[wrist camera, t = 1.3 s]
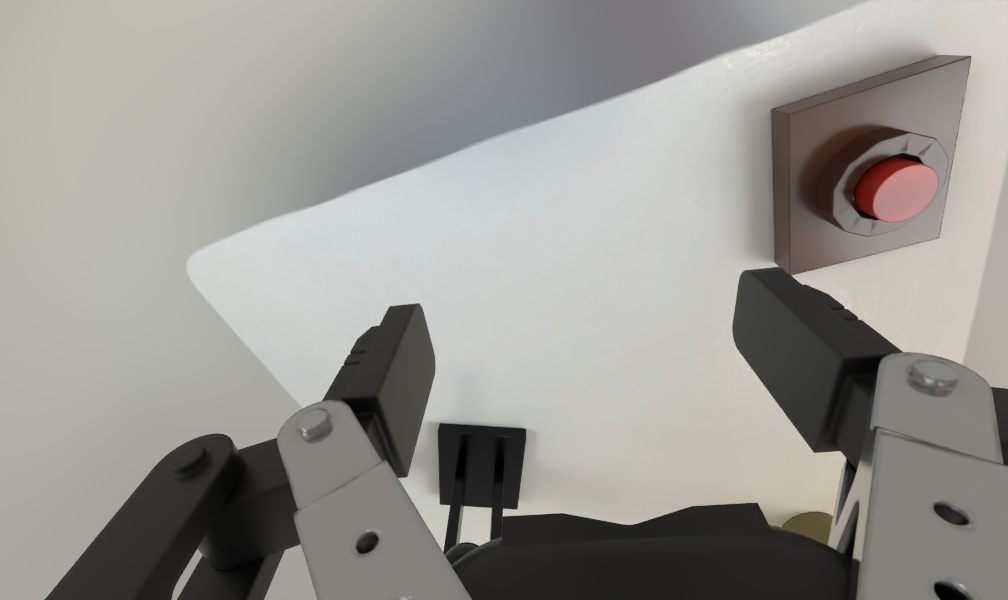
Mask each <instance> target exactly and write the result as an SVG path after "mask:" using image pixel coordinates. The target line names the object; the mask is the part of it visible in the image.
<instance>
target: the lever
mask: <svg viewBox="0 0 1008 600" xmlns="http://www.w3.org/2000/svg"><path fill="white" fill-rule="evenodd" d="M477 547H479V546H478V545H476V544H473V543H467V542H466V543H460V544H457V545H455V546H454V547H452V548H451V549H450V550H449V551H448V552H447V553H446V554H445V556H446V558H447V560H448V561H449V563H450V565H451V566H452V565H453V564H454V563H455V562H457V561H458V560H459V559H460V558H462V557H463V556H464V555H466V554H467V553H469V552H470V551H472V550H474V549H475V548H477Z"/></svg>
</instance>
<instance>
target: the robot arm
mask: <svg viewBox="0 0 1008 600" xmlns="http://www.w3.org/2000/svg"><path fill="white" fill-rule="evenodd" d="M733 337H734V341H735V344H736V347H737V349H738V350H739V352H740V353H741V354H742V356H743V357H744V358H745V360H746V361H747V363H748V364H749V365H750V367H751V368H752V369H753V371H754V372H755V373H756V375H757V376H758V377H759V379H760V380H761V381H762V383H763V384H764V386H765V387H766V388H767V390H768V391H769V392H770V394H771V395H772V396H773V398H774V399H775V400H776V402H777V403H778V404H779V406H780V407H781V408H782V410H783V411H784V413H785V414H786V415H787V417H788V418H789V419H790V421H791V422H792V423H793V425H794V426H795V427H796V429H797V430H798V431H799V433H800V434H801V436H802V437H803V438H804V440H805V441H806V442H807V444H808V445H809V446H810V448H811V449H812V450H813V452H814V453H816V452H832V451H841V452H842V453H843V454H844V455H845V457H846V460H845V462H844V465H843V468H842V471H841V477H840V482H839V488H838V493H837V498H836V504H835V509H834V514H833V520H832V525H831V530H830V536H829V541H828V545H826V544H824V543H822V542H820V541H818V540H815V539H813V538H811V537H808V536H805V535H803V534H800V533H797V532H795V531H791V530H788V529H784V528H781V527H777V526H772V525H769V524H768V522H767V521H766V519H765V517H764V515H763V513H762V511H761V509H760V507H759V505H758V503H745V504H727V505H709V506H692V507H689V508H685V509H682V510H679V511H676V512H673V513H670V514H667V515H663V516H660V517H657V518H654V519H651V520H648V521H644V522H641V523H638V524H634V525H622V524H617V523H611V522H606V521H601V520H595V519H590V518H584V517H579V516H574V515H568V514H563V513H561V514H543V515H524V516H506V517H503V520H502V537H500V538H497V539H494V540H491V541H489V542H487V543H485V544H483V545H481V546H479V547H477V548H475V549H474V550H472V551H470V552H469V553H467V554H466V555H464V556H463V557H462V558H460V559H459V560H458V561H457V562H455V563H454V564H453V565H452V566H451V565H450V563H449V561H448V560H447V558H446V556H445V555H444V553H443V551H442V550H441V548H440V547H439V545H438V543H437V542H436V540H435V538H434V537H433V535H432V533H431V532H430V530H429V529H428V527H427V525H426V524H425V522H424V520H423V519H422V517H421V515H420V514H419V512H418V510H417V509H416V507H415V506H414V504H413V502H412V501H411V499H410V497H409V496H408V494H407V492H406V491H405V489H404V488H403V486H402V484H401V483H400V481H399V479H398V478H402V477H407V476H408V472H409V468H410V465H411V461H412V457H413V454H414V450H415V446H416V442H417V439H418V435H419V431H420V428H421V424H422V420H423V416H424V413H425V409H426V405H427V402H428V398H429V394H430V390H431V387H432V383H433V379H434V375H435V355H434V350H433V346H432V343H431V339H430V335H429V331H428V327H427V324H426V320H425V316H424V312H423V309H422V307H421V305H420V304H408V305H398V306H390V307H389V309H388V311H387V312H386V314H385V316H384V318H383V320H382V322H381V324H380V326H374V327H371V328H370V329H369V330H368V331H366V332H365V333H364V334H363V335H362V336H361V337H359V338H358V339H357V341H356V343H355V345H354V346H353V348H352V350H351V352H350V353H351V354H350V355H348V357H347V359H346V360H345V362H344V366H342V367H341V369H340V371H339V373H338V374H337V376H336V378H335V379H334V381H333V383H332V385H331V386H330V388H329V390H328V392H327V393H326V395H325V397H324V399H323V400H322V401H321V402H317V403H314V404H312V405H309V406H307V407H305V408H303V409H301V410H300V411H298V412H297V413H295V414H294V415H293V416H291V417H290V418H289V419H288V420H287V421H286V422H285V424H284V425H283V426H282V427H281V429H280V431H279V433H278V436H277V438H275V439H272V440H269V441H266V442H262V443H259V444H256V445H253V446H249V447H246V448H243V449H240V450H237V448H236V446H235V445H234V443H233V441H232V440H231V438H230V437H228V436H227V435H224V434H209V435H205V436H201V437H198V438H196V439H193V440H191V441H189V442H187V443H185V444H183V445H181V446H179V447H178V448H176V449H175V450H173V451H172V452H170V453H169V454H168V455H166V456H165V457H164V458H163V459H162V460H161V461H160V462H159V463H158V464H157V465H156V466H155V467H154V468H153V470H152V471H151V472H150V473H149V474H148V476H147V477H146V478H145V479H144V481H143V482H142V483H141V484H140V485H139V486H138V488H137V489H136V490H135V492H133V494H132V495H131V496H130V498H129V499H128V500H127V501H126V502H125V503H124V505H123V506H122V507H121V509H119V511H118V512H117V513H116V514H115V515H114V517H113V518H112V519H111V520H110V522H109V523H108V524H107V525H106V526H105V528H104V529H103V530H102V531H101V532H100V534H99V535H98V536H97V537H96V538H95V540H94V541H93V542H92V543H91V544H90V546H89V547H88V548H87V549H86V551H85V552H84V553H83V554H82V555H81V557H80V558H79V559H78V560H77V561H76V563H75V564H74V565H73V566H72V568H71V569H70V570H69V571H68V573H67V574H66V575H65V576H64V577H63V578H62V580H61V581H60V582H59V583H58V585H57V586H56V587H55V588H54V589H53V591H52V592H51V593H50V594H49V596H48V597H47V598H46V599H45V600H171V599H172V594H173V590H174V588H175V586H176V583H177V582H178V580H179V578H180V576H181V574H182V573H183V571H184V570H185V568H186V566H187V565H188V563H189V561H190V560H191V558H192V556H193V555H194V553H195V551H196V550H197V548H198V550H199V551H200V552H201V553H202V555H203V556H202V558H201V559H200V561H199V563H198V564H197V566H196V568H195V570H194V571H193V573H192V575H191V577H190V578H189V580H188V582H187V583H186V585H185V587H184V588H183V590H182V592H181V594H180V596H179V597H178V599H177V600H264V598H265V596H266V593H267V591H268V589H269V586H270V584H271V581H272V579H273V577H274V574H275V572H276V569H277V567H278V565H279V562H280V560H281V558H282V555H283V553H284V551H285V549H289V548H291V547H294V546H297V545H300V544H301V546H302V549H303V552H304V556H305V559H306V562H307V566H308V569H309V572H310V576H311V579H312V583H313V586H314V590H315V593H316V596H317V600H1008V389H1004V388H994V387H990V385H989V384H988V383H987V381H986V380H985V379H984V378H983V377H981V376H980V375H979V374H977V373H976V372H974V371H973V370H970V369H969V368H967V367H965V366H963V365H961V364H959V363H956V362H954V361H951V360H948V359H945V358H942V357H938V356H933V355H928V354H922V353H910V352H904V353H903V352H902V351H901V350H900V349H898V348H897V347H896V346H894V345H893V344H892V343H891V342H889V341H888V340H887V339H885V338H884V337H883V336H881V335H880V334H879V333H878V332H876V331H875V330H874V329H872V328H871V327H870V326H869V325H867V324H866V323H865V322H863V321H862V320H858V317H857V316H856V315H854V314H853V313H852V312H851V311H849V310H848V309H844V306H843V305H841V304H840V303H839V302H838V301H836V300H835V299H834V298H832V297H831V296H830V295H829V294H826V293H824V292H822V291H819V290H817V289H815V288H812V287H810V286H807V285H802V284H800V283H799V282H798V281H797V280H795V279H794V278H793V277H792V276H791V275H789V274H788V273H787V272H786V271H784V270H783V269H782V268H780V267H774V268H764V269H754V270H746V271H744V272H742V274H741V276H740V279H739V284H738V291H737V298H736V305H735V312H734V319H733Z"/></svg>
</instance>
